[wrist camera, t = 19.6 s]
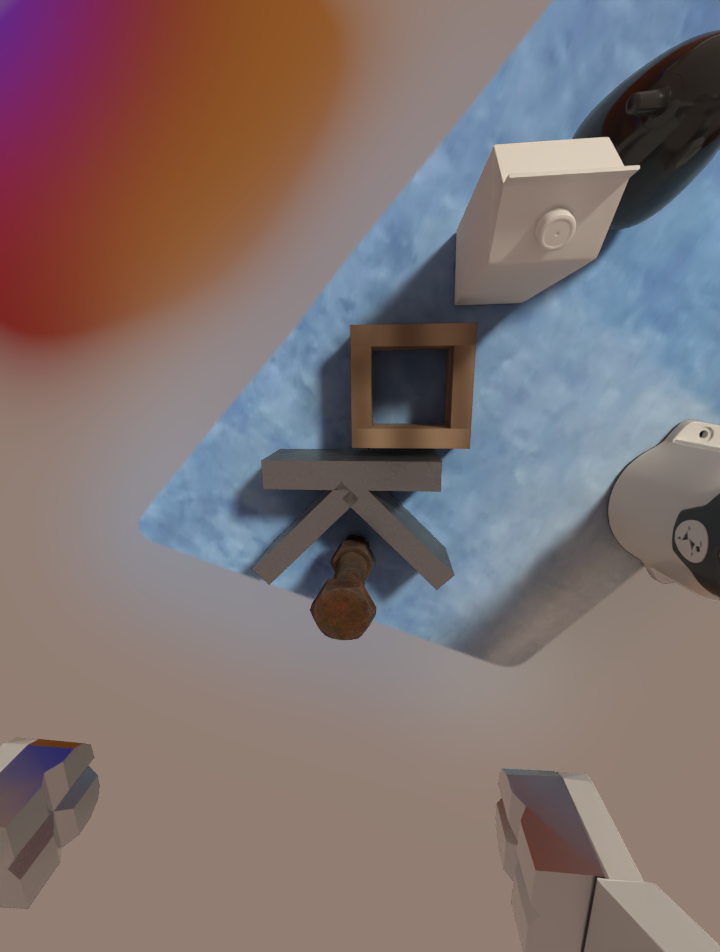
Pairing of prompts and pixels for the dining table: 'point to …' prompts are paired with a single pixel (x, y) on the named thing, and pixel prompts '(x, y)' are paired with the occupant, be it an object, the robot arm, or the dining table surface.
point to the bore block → (457, 393)
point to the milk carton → (536, 217)
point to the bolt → (346, 592)
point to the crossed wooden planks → (356, 503)
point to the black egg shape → (662, 125)
